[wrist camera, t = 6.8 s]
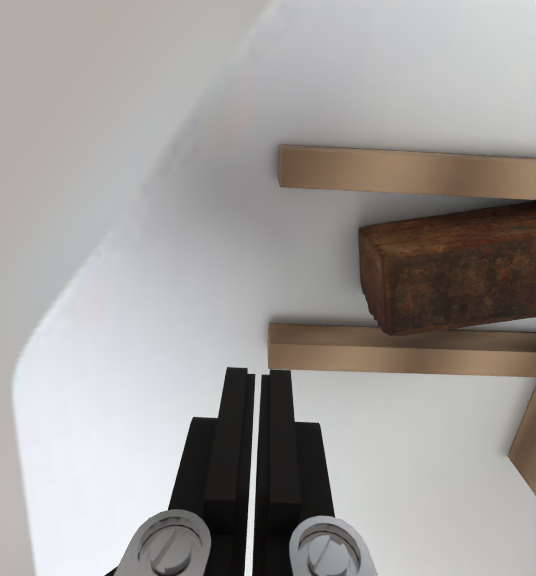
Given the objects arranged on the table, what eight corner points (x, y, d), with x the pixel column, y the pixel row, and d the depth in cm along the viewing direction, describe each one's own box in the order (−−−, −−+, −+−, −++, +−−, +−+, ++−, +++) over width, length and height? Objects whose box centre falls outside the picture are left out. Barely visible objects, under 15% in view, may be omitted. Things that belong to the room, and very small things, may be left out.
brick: (359, 296, 21) (385, 344, 17) (355, 223, 20) (383, 256, 15) (563, 267, 21) (641, 309, 17) (576, 191, 19) (667, 216, 15)
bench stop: (808, -38, 16) (1190, -137, 9) (567, 457, 26) (666, 570, 20) (294, -79, 15) (322, -218, 8) (261, 450, 25) (262, 566, 19)
